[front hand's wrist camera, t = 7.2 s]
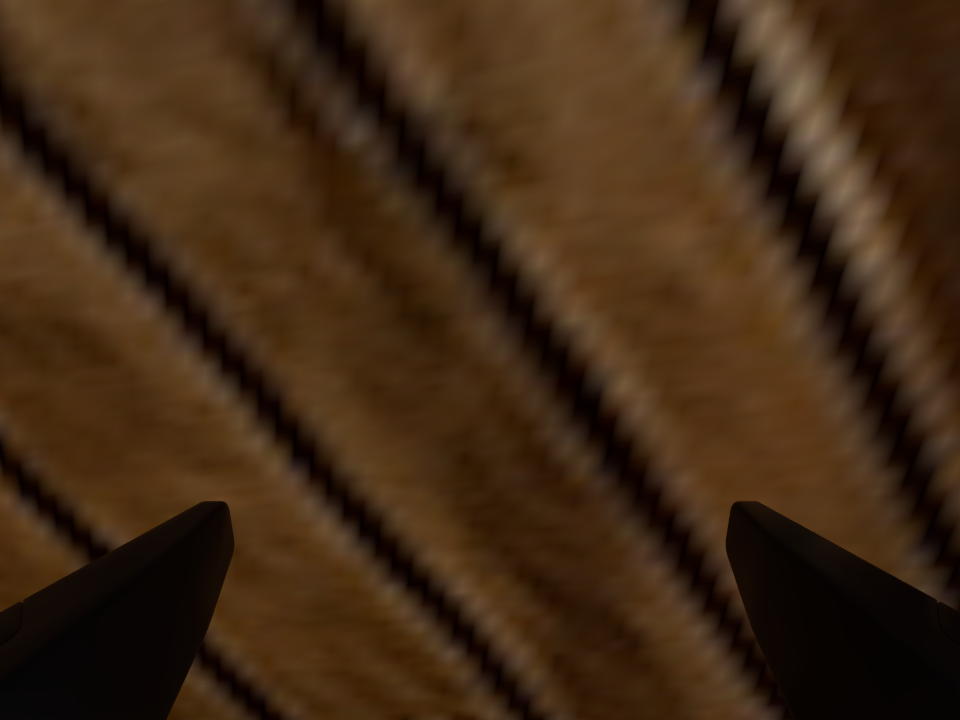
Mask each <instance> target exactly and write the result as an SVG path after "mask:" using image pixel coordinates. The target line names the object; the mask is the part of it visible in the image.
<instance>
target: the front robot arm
mask: <svg viewBox="0 0 960 720" xmlns="http://www.w3.org/2000/svg"><path fill="white" fill-rule="evenodd" d="M233 551H234V536H233V530H232V523H231V517H230V511H229V507H228V505H227V504H226V503H225V502H223V501H204V502H201V503H199V504H197V505H195V506H193V507H191V508H190V509H188V510H186V511H184V512H182V513H181V514H179V515H177V516H175V517H173V518H171V519H170V520H168V521H166V522H164V523H162V524H161V525H159V526H157V527H155V528H153V529H151V530H150V531H148V532H146V533H144V534H142V535H140V536H139V537H137V538H135V539H133V540H131V541H130V542H128V543H126V544H124V545H122V546H120V547H119V548H117V549H115V550H113V551H111V552H110V553H108V554H106V555H104V556H102V557H100V558H99V559H97V560H95V561H93V562H91V563H89V564H88V565H86V566H84V567H82V568H80V569H79V570H77V571H75V572H73V573H71V574H69V575H68V576H66V577H64V578H62V579H60V580H59V581H57V582H55V583H53V584H51V585H49V586H48V587H46V588H44V589H42V590H40V591H38V592H37V593H35V594H33V595H31V596H29V597H28V598H26V599H24V600H23V603H22V602H18V603H16V604H15V605H13V606H11V607H9V608H7V609H6V610H4V611H2V612H0V720H166V719H167V717H168V715H169V713H170V711H171V708H172V706H173V704H174V702H175V700H176V698H177V695H178V693H179V691H180V689H181V687H182V685H183V683H184V680H185V678H186V676H187V674H188V672H189V670H190V667H191V665H192V663H193V661H194V659H195V657H196V654H197V652H198V650H199V648H200V646H201V644H202V641H203V639H204V637H205V634H206V632H207V630H208V627H209V624H210V622H211V619H212V616H213V613H214V610H215V607H216V604H217V601H218V598H219V595H220V592H221V589H222V586H223V583H224V580H225V577H226V574H227V571H228V568H229V565H230V562H231V559H232V555H233ZM726 551H727V555H728V559H729V562H730V565H731V568H732V571H733V574H734V577H735V580H736V583H737V586H738V589H739V592H740V595H741V598H742V601H743V604H744V607H745V610H746V613H747V616H748V619H749V622H750V624H751V627H752V630H753V632H754V634H755V637H756V639H757V641H758V644H759V646H760V648H761V650H762V652H763V654H764V657H765V659H766V661H767V663H768V665H769V667H770V670H771V672H772V674H773V676H774V678H775V680H776V683H777V685H778V687H779V689H780V691H781V693H782V695H783V698H784V700H785V702H786V704H787V706H788V708H789V711H790V713H791V715H792V717H793V719H794V720H960V612H958V611H956V610H954V609H953V608H951V607H949V606H947V605H945V604H944V603H942V602H938V603H937V600H936V599H934V598H932V597H931V596H929V595H927V594H925V593H923V592H922V591H920V590H918V589H916V588H914V587H912V586H911V585H909V584H907V583H905V582H903V581H901V580H900V579H898V578H896V577H894V576H892V575H891V574H889V573H887V572H885V571H883V570H881V569H880V568H878V567H876V566H874V565H872V564H871V563H869V562H867V561H865V560H863V559H861V558H860V557H858V556H856V555H854V554H852V553H850V552H849V551H847V550H845V549H843V548H841V547H840V546H838V545H836V544H834V543H832V542H830V541H829V540H827V539H825V538H823V537H821V536H820V535H818V534H816V533H814V532H812V531H810V530H809V529H807V528H805V527H803V526H801V525H799V524H798V523H796V522H794V521H792V520H790V519H789V518H787V517H785V516H783V515H781V514H779V513H778V512H776V511H774V510H772V509H770V508H769V507H767V506H765V505H763V504H761V503H759V502H756V501H737V502H735V503H734V504H733V505H732V507H731V511H730V517H729V523H728V530H727V536H726Z"/></svg>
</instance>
